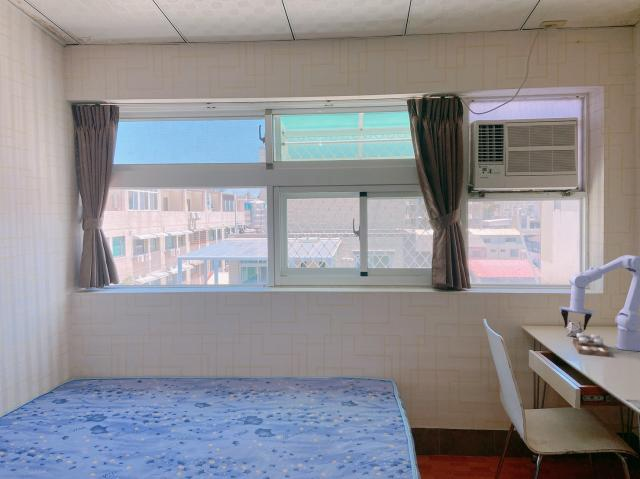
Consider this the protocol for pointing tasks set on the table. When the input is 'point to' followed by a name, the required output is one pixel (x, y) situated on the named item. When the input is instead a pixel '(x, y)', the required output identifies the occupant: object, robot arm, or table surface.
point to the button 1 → (583, 339)
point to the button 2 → (594, 336)
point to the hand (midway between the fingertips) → (575, 328)
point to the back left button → (580, 335)
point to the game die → (573, 328)
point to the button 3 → (598, 341)
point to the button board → (591, 348)
